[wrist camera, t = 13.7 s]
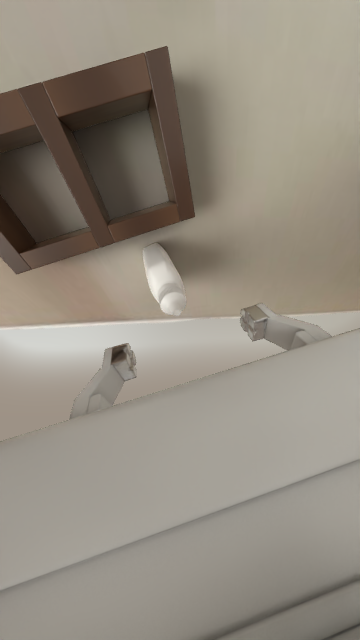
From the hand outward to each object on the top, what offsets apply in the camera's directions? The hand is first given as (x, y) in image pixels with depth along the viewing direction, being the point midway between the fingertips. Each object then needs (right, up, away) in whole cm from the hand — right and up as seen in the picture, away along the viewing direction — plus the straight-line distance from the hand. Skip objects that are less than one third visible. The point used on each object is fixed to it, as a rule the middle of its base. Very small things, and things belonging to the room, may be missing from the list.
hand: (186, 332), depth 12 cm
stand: (-10, +14, +5) cm, 18 cm away
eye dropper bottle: (-4, +9, +12) cm, 15 cm away
